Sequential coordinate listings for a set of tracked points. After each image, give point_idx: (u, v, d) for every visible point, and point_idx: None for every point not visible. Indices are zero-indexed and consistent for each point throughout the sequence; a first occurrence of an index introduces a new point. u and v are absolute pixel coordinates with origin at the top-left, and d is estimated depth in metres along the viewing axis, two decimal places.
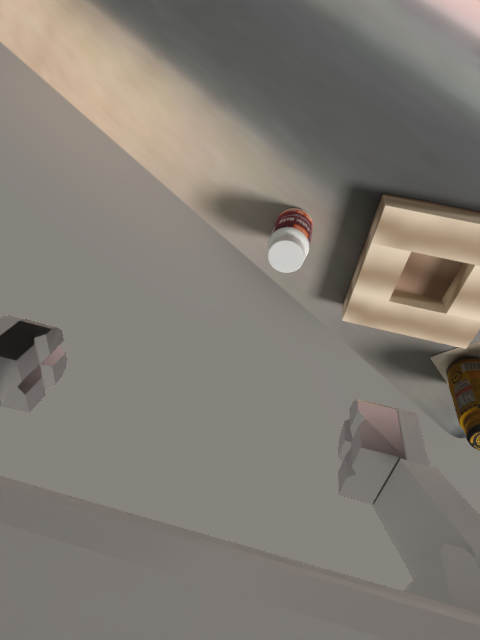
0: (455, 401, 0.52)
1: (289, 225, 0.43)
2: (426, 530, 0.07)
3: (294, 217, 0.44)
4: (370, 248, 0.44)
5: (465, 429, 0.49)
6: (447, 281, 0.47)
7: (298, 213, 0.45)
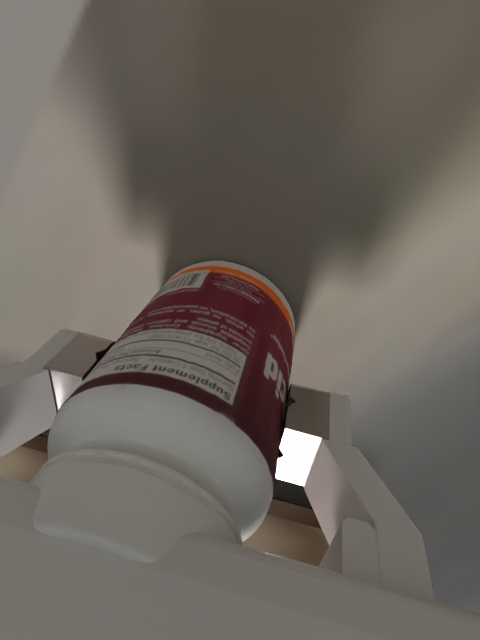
0: None
1: (276, 465, 0.08)
2: (341, 507, 0.08)
3: None
4: None
5: None
6: None
7: None
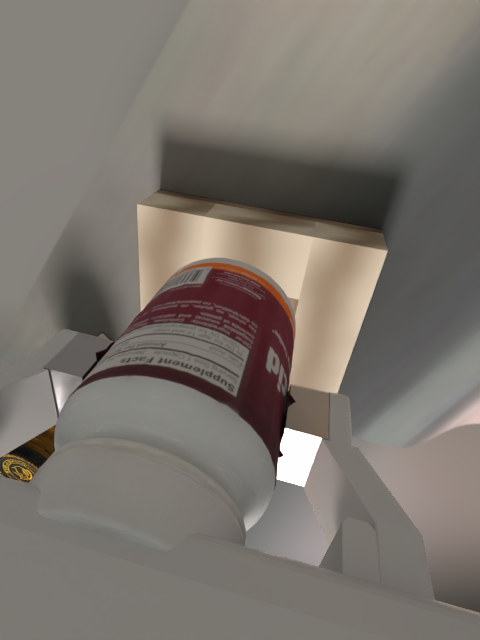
0: None
1: (278, 456, 0.08)
2: (342, 507, 0.08)
3: None
4: (302, 237, 0.24)
5: None
6: None
7: None
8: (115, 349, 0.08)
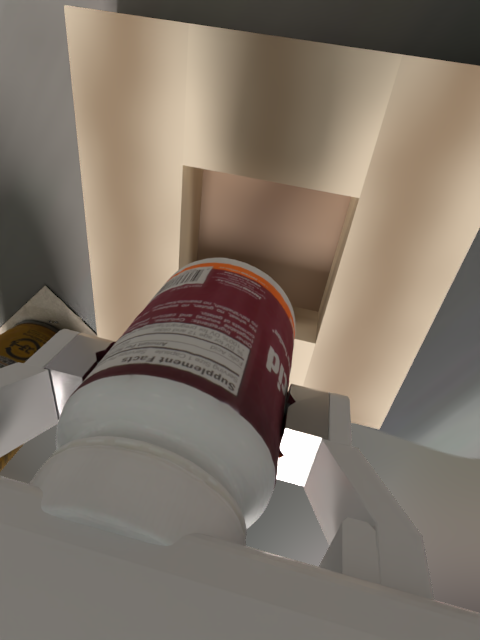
0: None
1: (278, 455, 0.08)
2: (341, 507, 0.08)
3: None
4: (380, 56, 0.12)
5: None
6: None
7: None
8: (116, 348, 0.08)
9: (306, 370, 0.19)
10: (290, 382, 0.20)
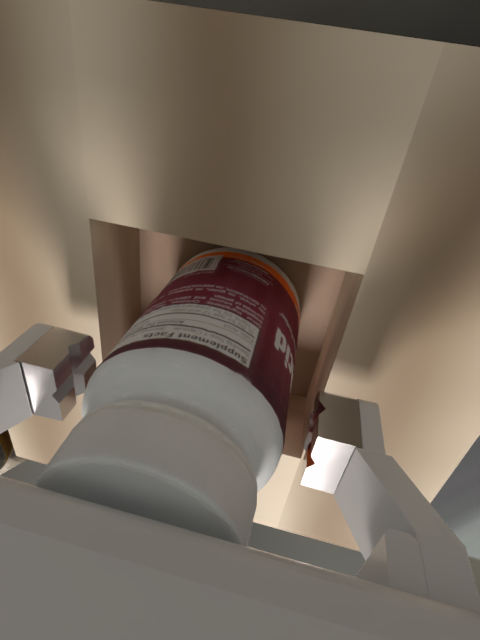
0: None
1: (285, 425, 0.09)
2: (378, 517, 0.07)
3: None
4: (403, 46, 0.07)
5: None
6: None
7: None
8: (137, 327, 0.09)
9: (289, 488, 0.14)
10: (267, 499, 0.15)
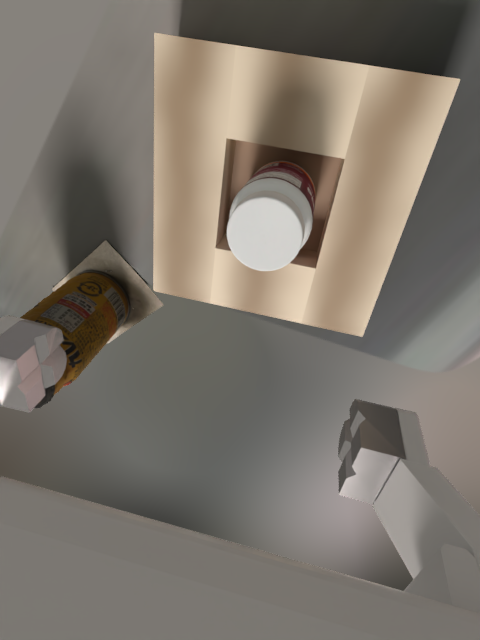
0: (49, 303, 0.29)
1: None
2: (426, 530, 0.07)
3: None
4: (355, 66, 0.20)
5: None
6: None
7: None
8: (251, 180, 0.22)
9: (309, 290, 0.27)
10: (297, 301, 0.27)
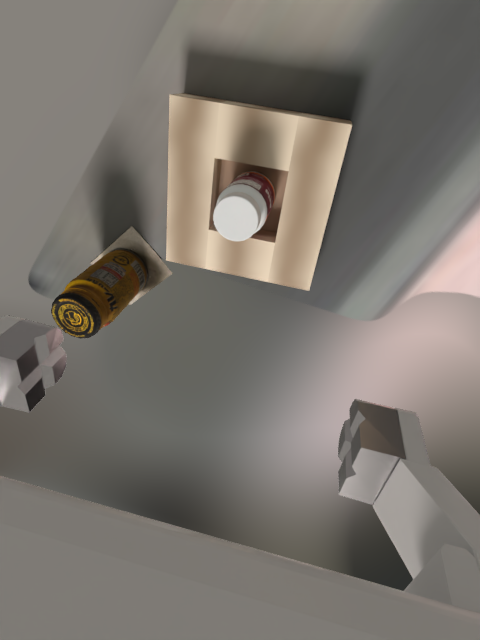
0: (95, 268, 0.42)
1: (268, 210, 0.35)
2: (426, 530, 0.07)
3: (271, 206, 0.37)
4: (291, 116, 0.33)
5: (71, 289, 0.39)
6: None
7: (272, 205, 0.38)
8: (229, 185, 0.35)
9: (271, 258, 0.40)
10: (264, 266, 0.40)
